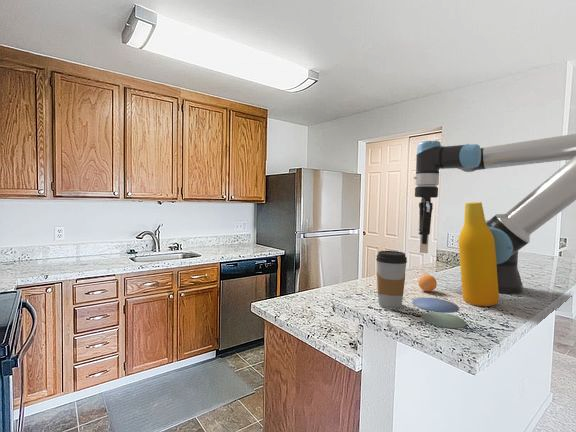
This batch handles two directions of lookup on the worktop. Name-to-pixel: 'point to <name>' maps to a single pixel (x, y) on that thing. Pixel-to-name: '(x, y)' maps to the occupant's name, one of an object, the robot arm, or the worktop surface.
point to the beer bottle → (478, 258)
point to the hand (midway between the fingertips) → (423, 252)
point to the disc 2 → (443, 320)
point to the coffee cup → (390, 278)
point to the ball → (427, 283)
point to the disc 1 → (435, 304)
